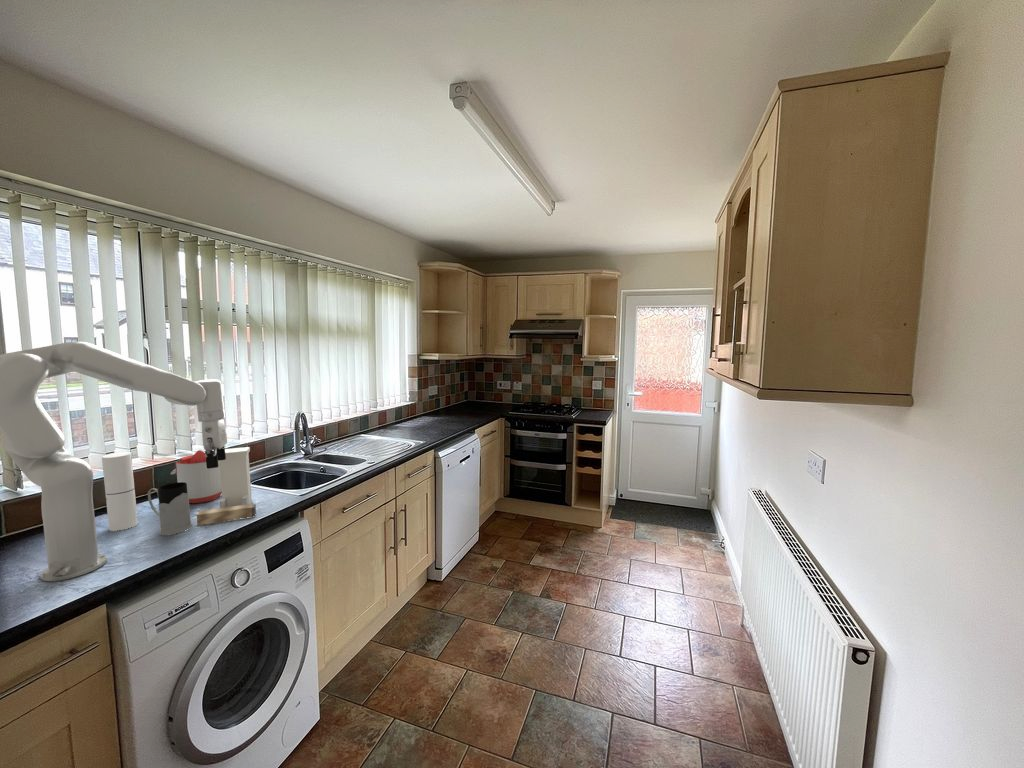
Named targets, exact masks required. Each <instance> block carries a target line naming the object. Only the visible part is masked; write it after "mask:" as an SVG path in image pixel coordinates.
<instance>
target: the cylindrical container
mask: <svg viewBox="0 0 1024 768" xmlns="http://www.w3.org/2000/svg"><path fill="white" fill-rule="evenodd" d="M132 461H133V460H132V452H129V451H128V452H127V451H122V452H114V453H108V454H105V455H102V456H101V463H102V464H101V465H102V470H103V471H102V472H103V480H104V481H103V482H104V492H105V499H106V501H105V502H106V511H107V519H108V530H109V531H110V532H120V531H119V530H121V531H124V529H125V530H128V528H129V529H132V528H133V527H136V526H138V513H137V512H138V511H137V501H136V500H137V499H136V490H135V489H136V488H135V481H134V480H135V479H134V471H133V462H132ZM131 527H132V528H131ZM117 530H118V531H117Z"/></svg>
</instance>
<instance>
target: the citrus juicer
mask: <svg viewBox="0 0 1024 768" xmlns="http://www.w3.org/2000/svg"><path fill="white" fill-rule="evenodd" d="M205 454H206V453H205V451H202V450H197V451H196V452H195V453H194V454H191V455H187V456H183V457H181V458H179V462H176V461H175V462H174V464H175V466H174V467H175V468H174V469H173V470H172V471H171V472H170V475H175V476H176V477H177V478H176V479H177V480H176V481H177V482H176V483H178V482H185V483H187V492H188V496H189V503H192V504H200V503H205V502H211V501H214V500H216V499H218V498H220V497H221V496H222V490H221V477H220V463H219V461H218V467H217V468H209V469H208V468H207V465H206V457H205Z"/></svg>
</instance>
